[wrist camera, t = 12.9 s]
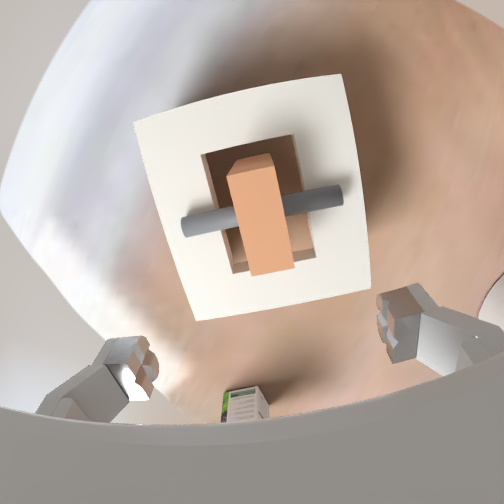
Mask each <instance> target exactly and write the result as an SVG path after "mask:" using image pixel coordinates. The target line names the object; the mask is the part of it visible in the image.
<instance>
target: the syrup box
mask: <svg viewBox="0 0 504 504" xmlns="http://www.w3.org/2000/svg"><path fill="white" fill-rule="evenodd" d="M265 418H270V417H269V405H268V403H267V401H266V399H265V398H264V396H263V394H262V392H261V390H260V389H259V387H258V386H254V387H250V388H245V389H240V390H235V391H230V392H225V393H224V396H223V405H222V415H221V423H224V422H236V421H247V420H256V419H265Z"/></svg>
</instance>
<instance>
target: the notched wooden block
mask: <svg viewBox="0 0 504 504" xmlns="http://www.w3.org/2000/svg"><path fill="white" fill-rule="evenodd" d="M226 177H227V181H228V185H229V189H230V193H231V197H232V201H233V205H234V209H235V213H236V217H237V221H238V225H239V229H240V233H241V237H242V241H243V245H244V249H245V253H246V257H247V261H248V265H249V269H250V272H251V276H257V275H263V274H268V273H273V272H278V271H283V270H288V269H293V268H295V266H294V260H293V255H292V250H291V245H290V240H289V234H288V229H287V224H286V219H285V214H284V209H283V205H282V200H281V195H280V190H279V185H278V181H277V176H276V171H275V167H274V164H273V161H272V158H271V155H270V153H266V154H261V155H257V156H252V157H247V158H243V159H239V160H237V161H236V162H235V164H234V165H233V167H232V168H231V170H230V171H229V173H228V174H227V176H226Z"/></svg>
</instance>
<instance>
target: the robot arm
mask: <svg viewBox="0 0 504 504" xmlns="http://www.w3.org/2000/svg"><path fill="white" fill-rule="evenodd" d="M377 307H378V309H379V310H380V312H379V314H378V315H377V325H378V331H379V335H380V338H381V340H382V342H383V343H385V344H387V347H386V351H387V353H388V355H389V357H390V360H391V362H392V364H394V363H398V362H402V361H406V360H410V359H413V358H416V359H417V360H419V361H420V362H422V363H423V364H425V365H427V366H428V367H430V368H431V369H433V370H434V371H436V372H437V373H439V374H440V375H442V376H443V377H440V378H437V379H434V380H431V381H428V382H425V383H422V384H419V385H416V386H413V387H410V388H407V389H404V390H400V391H397V392H394V393H390V394H387V395H383V396H379V397H376V398H372V399H368V400H364V401H360V402H355V403H351V404H347V405H342V406H337V407H332V408H327V409H322V410H317V411H312V412H306V413H300V414H293V415H287V416H280V417H273V418H265V419H256V420H247V421H236V422H224V423H208V424H184V425H145V424H119V423H110V422H111V421H112V420H113V419H114V418H115V417H116V415H117V414H118V413H119V412H120V411H121V410H122V409H123V408H124V407H125V406H126V405H127V404H128V403H129V400H149V399H150V396H151V393H152V390H153V388H154V386H153V384H152V382H153V381H154V380H155V379H156V378H157V377H158V373H159V363H158V360H157V358H156V356H155V354H154V353H153V352H151V351H150V350H149V346H150V344H149V342H148V341H147V339H146V337H144V336H133V337H121V338H111V339H108V340H107V341H106V342H105V344H104V346H103V347H102V349H101V351H100V352H99V354H98V356H97V357H96V359H95V360H94V362H93V364H92V365H88V366H87V367H86V368H84V369H83V370H81V371H80V372H78V373H77V374H76V375H74V376H73V377H71V378H70V379H69V380H67V381H66V382H65V383H63V384H61V385H60V386H59V387H57V388H56V389H54V390H53V391H52V392H50V393H49V394H47V395H46V397H45V398H44V400H43V402H42V403H41V405H40V406H39V408H38V410H37V411H36V413H29V412H24V411H19V410H15V409H10V408H5V407H1V406H0V504H504V274H503V275H502V277H501V278H500V279H499V280H498V281H497V282H496V283H495V285H494V286H493V287H492V289H491V290H490V291H489V293H488V295H487V296H486V298H485V300H484V302H483V304H482V307H481V309H480V312H479V316H478V319H477V318H475V317H472V316H469V315H466V314H463V313H460V312H457V311H455V310H452V309H449V308H446V307H443V306H442V307H438V305H437V304H436V303H435V302H434V300H433V299H432V298H431V297H430V296H429V294H428V293H427V292H426V291H425V290H424V288H423V287H422V286H421V285H420V284H419V283H416V284H412V285H409V286H406V287H403V288H399V289H396V290H392V291H388V292H384V293H381V294H377Z"/></svg>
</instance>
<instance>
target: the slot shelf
mask: <svg viewBox="0 0 504 504" xmlns="http://www.w3.org/2000/svg"><path fill="white" fill-rule="evenodd" d="M133 124H134V128H135V132H136V136H137V140H138V143H139V147H140V151H141V155H142V158H143V162H144V165H145V169H146V173H147V176H148V179H149V183H150V186H151V190H152V193H153V196H154V200H155V203H156V206H157V210H158V213H159V216H160V219H161V222H162V225H163V229H164V232H165V235H166V238H167V241H168V244H169V247H170V250H171V253H172V256H173V259H174V262H175V264H176V267H177V270H178V273H179V276H180V279H181V281H182V284H183V287H184V290H185V293H186V295H187V298H188V301H189V303H190V306H191V309H192V311H193V314H194V317H195V319H196V321H200V320H207V319H213V318H220V317H226V316H232V315H238V314H244V313H250V312H255V311H261V310H267V309H272V308H277V307H283V306H288V305H293V304H298V303H304V302H309V301H314V300H318V299H323V298H328V297H333V296H338V295H342V294H347V293H351V292H356V291H360V290H365V289H369V288H371V276H370V260H369V247H368V235H367V225H366V215H365V206H364V198H363V190H362V182H361V175H360V168H359V162H358V156H357V149H356V143H355V138H354V132H353V127H352V122H351V116H350V111H349V107H348V102H347V97H346V93H345V88H344V84H343V79H342V75H341V74H335V75H326V76H318V77H311V78H304V79H298V80H292V81H286V82H280V83H274V84H269V85H264V86H259V87H254V88H250V89H245V90H241V91H236V92H232V93H228V94H224V95H220V96H216V97H212V98H208V99H205V100H201V101H197V102H194V103H190V104H187V105H184V106H180V107H177V108H174V109H171V110H167V111H164V112H161V113H158V114H155V115H152V116H149V117H147V118H144V119H141V120H138V121H135V122H133ZM285 135H292V140H293V145H294V149H295V154H296V159H297V164H298V169H299V174H300V179H301V184H302V190H303V191H300V192H295V193H290V194H285V195H281V200H282V205H283V209H284V214H285V217H286V216H291V215H296V214H301V213H306V212H307V217H308V223H309V228H310V234H311V240H312V246H313V248H312V249H307V250H302V251H297V252H292V255H293V260H294V266H295V268H293V269H288V270H283V271H278V272H273V273H268V274H263V275H257V276H251V272H250V269H249V265H248V261H246V262H241V263H236V264H234V260H233V256H232V253H231V249H230V245H229V242H228V238H227V234H226V231H225V229H228V228H233V227H238V226H239V225H238V221H237V217H236V213H235V209H234V205H233V206H228V207H224V208H219V204H218V201H217V197H216V193H215V189H214V185H213V182H212V178H211V174H210V170H209V166H208V162H207V158H206V155H205V153H209V152H213V151H217V150H221V149H225V148H229V147H234V146H238V145H242V144H247V143H251V142H256V141H261V140H265V139H270V138H275V137H280V136H285Z"/></svg>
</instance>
